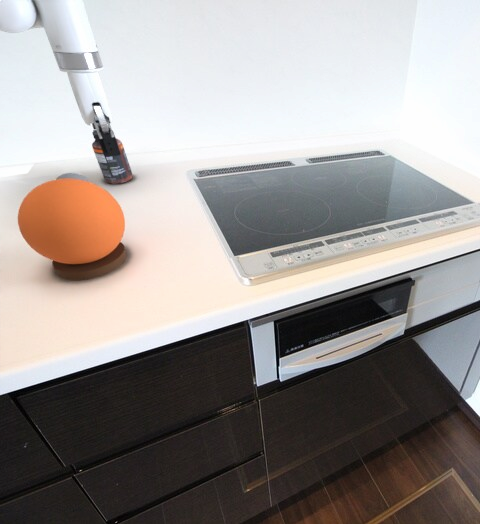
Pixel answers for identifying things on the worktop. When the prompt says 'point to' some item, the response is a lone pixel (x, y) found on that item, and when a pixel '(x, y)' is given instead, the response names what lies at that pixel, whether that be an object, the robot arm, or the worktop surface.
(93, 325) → the worktop surface
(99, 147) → the supplement bottle
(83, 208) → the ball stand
